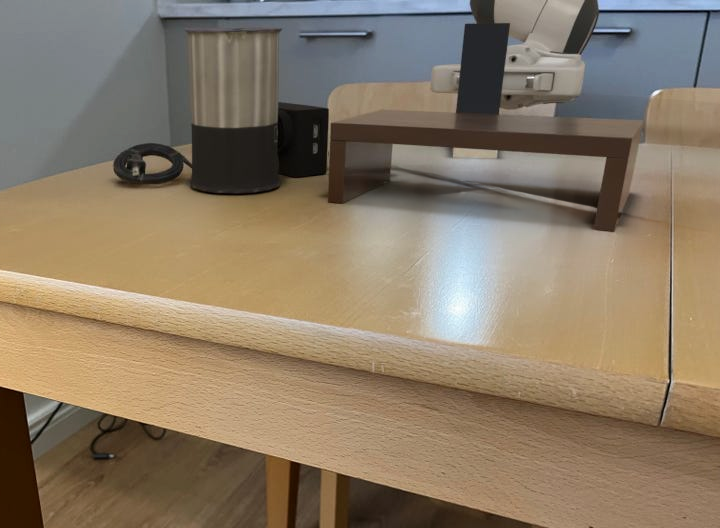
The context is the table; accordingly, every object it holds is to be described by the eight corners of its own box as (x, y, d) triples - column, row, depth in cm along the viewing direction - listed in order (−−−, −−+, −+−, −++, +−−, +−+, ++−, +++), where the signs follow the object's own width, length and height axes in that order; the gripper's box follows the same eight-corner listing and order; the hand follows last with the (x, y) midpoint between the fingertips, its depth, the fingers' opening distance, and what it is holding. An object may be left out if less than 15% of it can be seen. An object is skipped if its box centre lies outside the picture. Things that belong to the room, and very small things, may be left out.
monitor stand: (376, 179, 79) (381, 109, 76) (627, 200, 68) (643, 120, 65) (327, 202, 69) (330, 122, 66) (614, 231, 58) (632, 137, 55)
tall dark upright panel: (452, 148, 99) (464, 23, 93) (491, 149, 98) (507, 23, 92) (452, 161, 89) (466, 23, 83) (496, 162, 88) (514, 22, 82)
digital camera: (235, 165, 88) (235, 103, 85) (274, 161, 90) (275, 100, 87) (285, 179, 80) (286, 110, 77) (326, 174, 82) (329, 107, 79)
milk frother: (295, 191, 73) (298, 25, 67) (137, 204, 69) (125, 27, 63) (245, 169, 86) (244, 27, 80) (107, 178, 81) (95, 28, 75)
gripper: (446, 53, 113) (418, 56, 102) (593, 54, 104) (580, 57, 93) (442, 98, 116) (415, 105, 105) (585, 102, 106) (572, 110, 95)
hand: (494, 82), depth 99 cm, fingers open, 8 cm apart
